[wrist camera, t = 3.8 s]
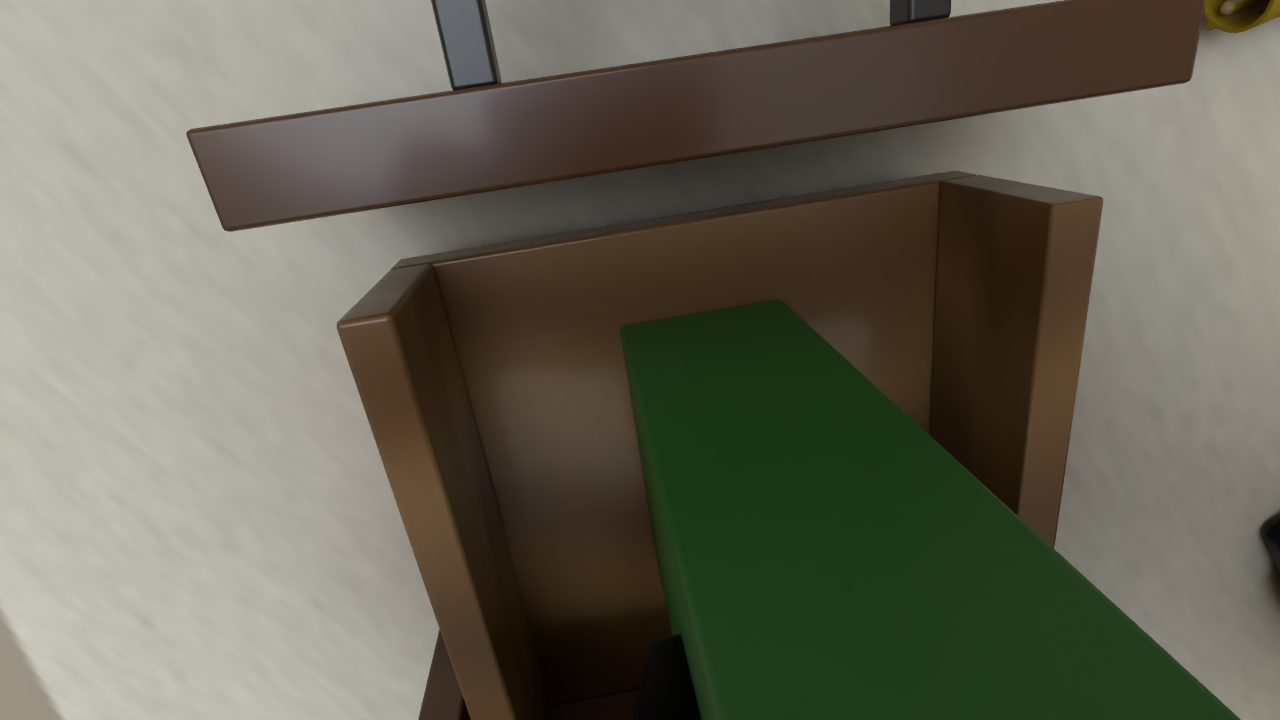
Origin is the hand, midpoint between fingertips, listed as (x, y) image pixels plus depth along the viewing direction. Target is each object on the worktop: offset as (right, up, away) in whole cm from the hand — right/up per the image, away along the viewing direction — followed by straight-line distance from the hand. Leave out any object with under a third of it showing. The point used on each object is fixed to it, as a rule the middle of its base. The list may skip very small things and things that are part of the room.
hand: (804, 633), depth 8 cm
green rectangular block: (-1, +2, +5) cm, 5 cm away
